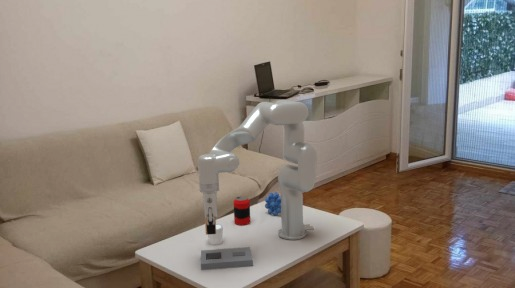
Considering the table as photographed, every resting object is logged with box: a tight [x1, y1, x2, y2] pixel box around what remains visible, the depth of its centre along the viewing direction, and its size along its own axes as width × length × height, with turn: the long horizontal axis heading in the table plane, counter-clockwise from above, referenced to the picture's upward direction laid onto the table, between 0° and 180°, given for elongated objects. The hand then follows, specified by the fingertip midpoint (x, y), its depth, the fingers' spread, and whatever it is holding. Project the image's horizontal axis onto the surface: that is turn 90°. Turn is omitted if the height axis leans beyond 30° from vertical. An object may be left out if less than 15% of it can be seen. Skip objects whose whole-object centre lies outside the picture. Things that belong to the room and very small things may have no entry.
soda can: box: [233, 196, 251, 226], centre depth 235 cm, size 8×8×12 cm
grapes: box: [264, 192, 281, 216], centre depth 243 cm, size 12×7×12 cm, turn 51°
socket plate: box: [200, 246, 254, 271], centre depth 197 cm, size 20×12×3 cm, turn 96°
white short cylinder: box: [207, 223, 224, 245], centre depth 215 cm, size 7×7×7 cm
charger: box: [204, 215, 217, 236], centre depth 193 cm, size 4×4×8 cm
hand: (211, 231), depth 194 cm, fingers closed on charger, 4 cm apart
